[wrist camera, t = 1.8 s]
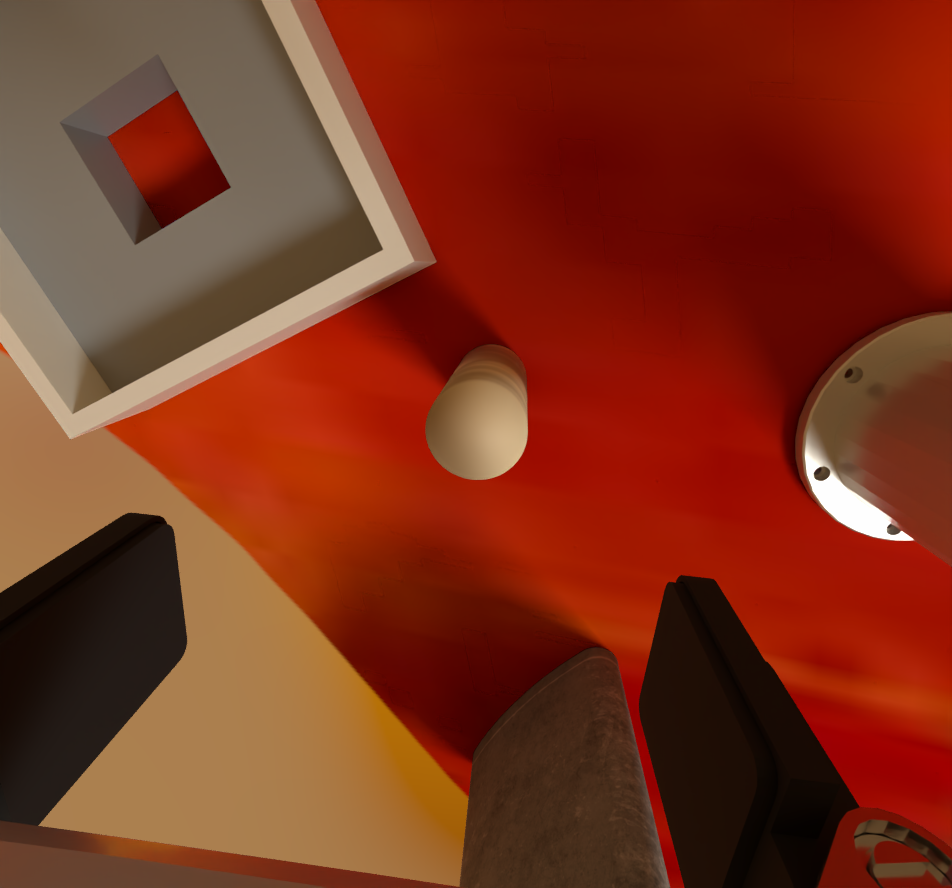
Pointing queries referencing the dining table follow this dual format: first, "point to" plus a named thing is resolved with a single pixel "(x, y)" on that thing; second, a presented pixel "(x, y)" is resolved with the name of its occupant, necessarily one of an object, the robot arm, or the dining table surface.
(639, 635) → the dining table surface
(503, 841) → the flask
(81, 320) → the open top box
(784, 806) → the robot arm
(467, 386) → the peg
